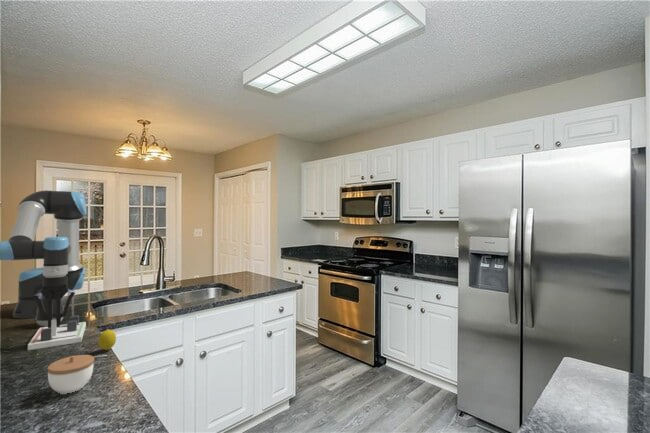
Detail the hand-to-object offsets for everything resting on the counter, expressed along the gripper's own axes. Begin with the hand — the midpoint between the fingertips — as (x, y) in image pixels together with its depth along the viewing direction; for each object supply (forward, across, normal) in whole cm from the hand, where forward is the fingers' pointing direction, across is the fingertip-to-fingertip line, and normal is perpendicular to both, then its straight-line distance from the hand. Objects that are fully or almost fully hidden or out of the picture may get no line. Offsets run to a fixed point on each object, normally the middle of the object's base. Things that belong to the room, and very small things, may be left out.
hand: (54, 335), depth 126 cm
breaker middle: (+1, +5, +8) cm, 9 cm away
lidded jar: (+4, +10, -45) cm, 46 cm away
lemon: (+4, +18, -18) cm, 26 cm away
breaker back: (+1, +5, +16) cm, 17 cm away
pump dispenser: (+4, -5, +29) cm, 30 cm away
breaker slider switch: (+1, -2, 0) cm, 2 cm away
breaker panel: (+3, +1, +8) cm, 9 cm away
